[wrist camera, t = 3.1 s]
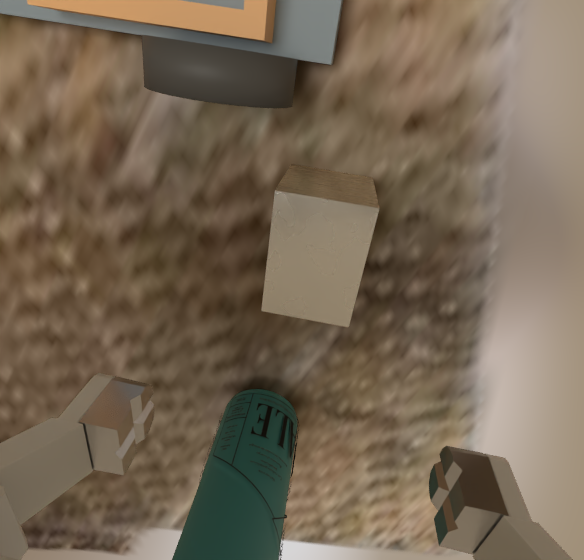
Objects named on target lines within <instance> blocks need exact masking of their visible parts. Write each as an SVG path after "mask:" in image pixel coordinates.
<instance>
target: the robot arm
mask: <svg viewBox="0 0 584 560" xmlns="http://www.w3.org/2000/svg"><path fill="white" fill-rule="evenodd" d="M152 395H153V387H152V385H150V384H146V383H142V382H137V381H133V380H129V379H125V378H121V377H116V376H111V375H107V374H103V373H98V374H96V375H95V376H93V377H92V378H91V380H90V381H89V382H88V383H87V384H86V385H85V387H84V388H83V389H82V390H81V391H80V392H79V394H78V395H77V396H76V397H75V398H74V400H73V401H72V402H71V403H70V404H69V405H68V407H67V408H66V409H65V410H64V411H63V412H62V414H61V415H60V416H59V417H58V418H53V417H52V418H50V419H48V420H46V421H44V422H42V423H40V424H38V425H36V426H34V427H32V428H30V429H28V430H26V431H24V432H22V433H19V434H17V435H15V436H13V437H11V438H9V439H7V440H5V441H3V442H1V443H0V560H21V558H22V557H23V555H24V554H25V552H26V551H27V549H28V542H27V539H26V537H25V535H24V532H23V530H22V528H21V526H20V525H22V524H23V523H24V522H26V521H27V520H28V519H30V518H31V517H32V516H34V515H35V514H36V513H38V512H39V511H40V510H42V509H43V508H44V507H46V506H47V505H48V504H50V503H51V502H52V501H54V500H55V499H56V498H58V497H59V496H60V495H62V494H63V493H64V492H66V491H67V490H68V489H70V488H71V487H73V486H74V485H75V484H77V483H78V482H79V481H81V480H82V479H83V478H85V477H86V476H87V475H89V474H90V473H91V472H92V471H93V470H98V471H104V472H109V473H114V474H119V475H124V474H125V473H126V471H127V469H128V467H129V466H130V464H131V462H132V460H133V459H134V457H135V455H136V453H137V452H136V444H137V443H139V442H140V441H142V440H144V439H145V437H146V435H147V434H148V432H149V430H150V427H151V424H152V421H153V418H154V404H153V403H152V402H151V401H150V399H151V397H152ZM440 458H441V462H438V463H436V464H434V466H433V468H432V470H431V473H430V479H429V493H430V499H431V502H432V503H433V505H434V506H435V507H436V509H437V510H438V513H437V514H436V516H435V518H434V521H435V526H436V532H437V537H438V542H439V546H441V547H445V548H449V549H453V550H457V551H461V552H465V553H469V554H473V558H474V559H475V560H573V559H572V558H571V557H570V556H569V555H568V554H567V553H566V552H565V551H564V550H563V549H562V548H561V547H560V546H559V544H557V542H556V541H555V540H554V539H553V538H552V537H551V536H550V535H549V534H548V533H547V532H546V531H545V530H544V528H543V527H542V526H541V525H540V524H539V523H536V522H532V519H531V517H530V514H529V512H528V510H527V507H526V505H525V502H524V500H523V497H522V495H521V492H520V490H519V487H518V485H517V483H516V480H515V477H514V475H513V473H512V470H511V468H510V465H509V463H508V461H507V460H506V459H505V458H503V457H498V456H493V455H488V454H483V453H480V452H475V451H470V450H465V449H460V448H455V447H450V446H446V447H444V448H443V449H442V451H441V453H440ZM92 469H93V470H92Z"/></svg>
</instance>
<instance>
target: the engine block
mask: <svg viewBox="0 0 584 560" xmlns="http://www.w3.org/2000/svg"><path fill="white" fill-rule="evenodd" d="M378 212H379V204H378V199H377V195H376V190H375V186H374V181H373V178H372V177H366V176H360V175H354V174H348V173H342V172H336V171H330V170H324V169H318V168H312V167H306V166H300V165H294V164H291V166H290V167H289V169H288V170H287V172H286V174H285V175H284V177H283V178H282V180H281V182H280V183H279V185H278V186H277V188H276V190H275V195H274V203H273V212H272V221H271V230H270V239H269V248H268V256H267V265H266V274H265V283H264V292H263V300H262V309H261V311H264V312H269V313H274V314H280V315H285V316H290V317H296V318H301V319H306V320H312V321H317V322H322V323H328V324H333V325H338V326H343V327H349V324H350V320H351V316H352V313H353V309H354V305H355V301H356V297H357V293H358V289H359V286H360V282H361V278H362V274H363V270H364V266H365V262H366V259H367V255H368V251H369V247H370V243H371V239H372V235H373V232H374V228H375V224H376V220H377V216H378Z"/></svg>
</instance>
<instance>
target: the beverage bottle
mask: <svg viewBox="0 0 584 560" xmlns="http://www.w3.org/2000/svg"><path fill="white" fill-rule="evenodd" d="M297 420H298V419H297V416H296V413H295V410H294V408H293V406H292V405H291V404H290V403H289V402H288V401H287V400H286V399H285V398H283V397H282V396H280V395H278V394H276V393H274V392H271V391H268V390H263V389H250V390H245V391H242V392H240V393H238V394H237V395H235V396H234V397H233V398H232V399H231V400H230V402H229V403H228V405H227V406H226V409H225V412H224V415H223V418H222V420H221V421H220V420H219V421H220V422H221V423H219V424H220V426H219V429H218V432H217V435H216V437H215V440H214V438H213V446H212V449H211V451H210V454H209V457H208V460H207V463H206V466H205V469H204V472H203V471H201V472H202V478H201V482H200V484H199V487H198V490H197V493H196V495H195V498H194V501H193V504H192V506H191V509H190V512H189V515H188V517H187V520H186V523H185V526H184V528H183V531H182V534H181V537H180V540H179V542H178V545H177V548H176V550H175V553H174V556H173V559H172V560H278V558H279V551H280V555H281V550H280V544H281V538H282V534H283V533H285V532H284V531H283V533H282V530H283V523H284V518H287V515H285V509H286V502H287V500H288V499H287V496H288V495H289V494H288V488H289V489H290V487H289V481H290V478H291V477H290V474H291V467H292V460H293V453H294V446H295V451H296V446H297V443H296V445H295V441H296V440H295V439H297V438H298V433H297V427H298V424H297ZM298 423H299V422H298ZM298 431H299V430H298ZM296 434H297V438H296ZM214 435H215V434H214ZM210 446H211V445H210ZM209 449H210V448H209ZM295 454H296V453H294V459H295ZM205 460H206V459H205ZM204 463H205V462H204ZM293 468H294V460H293V467H292V474H293ZM292 474H291V476H292ZM200 477H201V475H200ZM290 483H292V482H290ZM290 490H291V489H290ZM289 492H290V491H289ZM284 516H286V517H284ZM285 526H286V525H285ZM284 529H285V528H284ZM282 540H284V537H283V538H282ZM281 547H282V546H281ZM280 560H281V559H280Z"/></svg>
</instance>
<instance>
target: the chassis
mask: <svg viewBox="0 0 584 560" xmlns="http://www.w3.org/2000/svg"><path fill="white" fill-rule="evenodd" d="M342 5H343V0H0V14H7V15H13V16H20V17H26V18H32V19H39V20H45V21H52V22H58V23H65V24H71V25H77V26H84V27H90V28H97V29H103V30H110V31H116V32H122V33H129V34H135V35H142V50H143V69H144V87H145V88H147V89H149V90H152V91H155V92H159V93H163V94H167V95H172V96H177V97H182V98H187V99H193V100H199V101H206V102H213V103H220V104H228V105H237V106H248V107H260V108H288V107H292V103H293V95H294V87H295V79H296V71H297V62H298V60H303V61H309V62H315V63H322V64H328V65H333V60H334V53H335V47H336V41H337V35H338V29H339V23H340V17H341V11H342Z"/></svg>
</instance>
